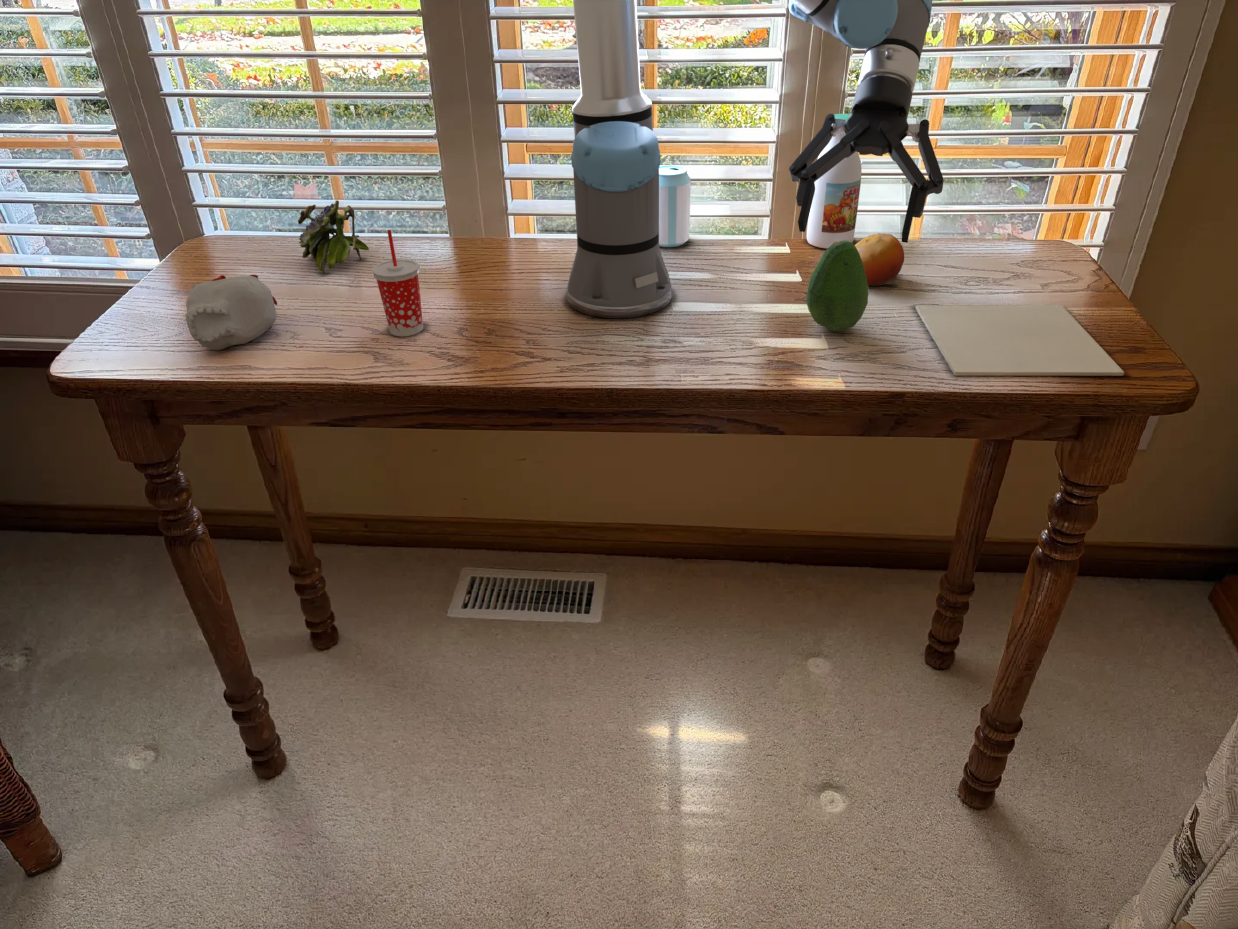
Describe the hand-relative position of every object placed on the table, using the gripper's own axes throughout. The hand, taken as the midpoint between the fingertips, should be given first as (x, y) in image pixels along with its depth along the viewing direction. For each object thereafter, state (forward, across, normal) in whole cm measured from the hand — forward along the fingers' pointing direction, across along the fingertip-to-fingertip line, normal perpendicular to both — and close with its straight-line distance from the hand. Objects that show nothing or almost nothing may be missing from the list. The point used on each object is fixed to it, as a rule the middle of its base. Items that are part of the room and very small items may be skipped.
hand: (851, 232), depth 115 cm
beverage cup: (+26, -55, -10) cm, 62 cm away
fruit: (-1, +2, +17) cm, 17 cm away
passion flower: (+13, -81, +3) cm, 82 cm away
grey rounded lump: (+33, -76, -17) cm, 85 cm away
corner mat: (+9, +22, +7) cm, 25 cm away
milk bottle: (-11, -7, +27) cm, 30 cm away
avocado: (+12, 0, +4) cm, 13 cm away
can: (-5, -33, +21) cm, 39 cm away
